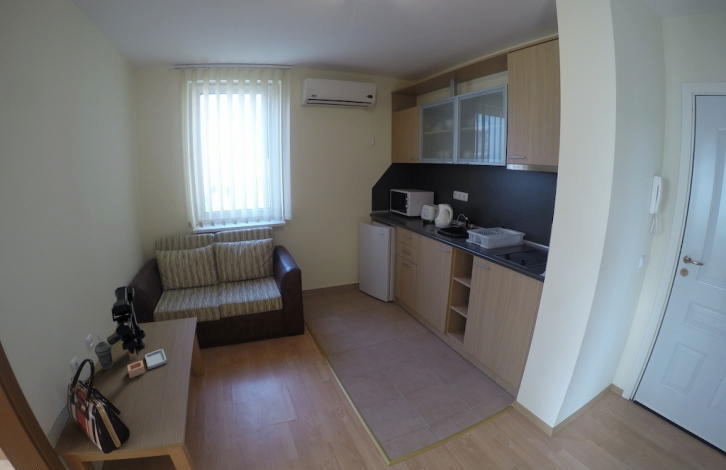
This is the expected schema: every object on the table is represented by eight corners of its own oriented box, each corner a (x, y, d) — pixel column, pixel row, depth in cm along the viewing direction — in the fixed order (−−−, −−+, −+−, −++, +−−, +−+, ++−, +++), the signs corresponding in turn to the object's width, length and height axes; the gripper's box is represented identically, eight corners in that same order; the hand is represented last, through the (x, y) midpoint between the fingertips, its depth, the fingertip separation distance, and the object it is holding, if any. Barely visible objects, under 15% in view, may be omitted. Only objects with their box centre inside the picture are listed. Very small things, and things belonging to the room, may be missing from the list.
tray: (145, 357, 182) (144, 354, 181) (163, 350, 188) (162, 348, 187) (148, 369, 172) (147, 367, 171) (167, 362, 177) (166, 359, 177)
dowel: (130, 359, 168) (126, 343, 165) (137, 357, 170) (133, 341, 167) (130, 362, 166) (126, 346, 163) (137, 360, 168) (133, 344, 165)
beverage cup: (107, 372, 170) (98, 340, 165) (96, 370, 172) (87, 338, 166) (119, 363, 177) (111, 332, 172) (109, 361, 179) (100, 331, 173)
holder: (128, 371, 170) (127, 365, 169) (143, 366, 175) (142, 360, 174) (129, 378, 165) (128, 371, 164) (145, 372, 170) (143, 366, 169)
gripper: (105, 324, 164) (112, 349, 168) (106, 340, 150) (114, 367, 155) (131, 317, 171) (137, 341, 175) (134, 331, 157) (141, 358, 162)
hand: (132, 351), depth 167 cm, fingers closed on dowel, 3 cm apart
